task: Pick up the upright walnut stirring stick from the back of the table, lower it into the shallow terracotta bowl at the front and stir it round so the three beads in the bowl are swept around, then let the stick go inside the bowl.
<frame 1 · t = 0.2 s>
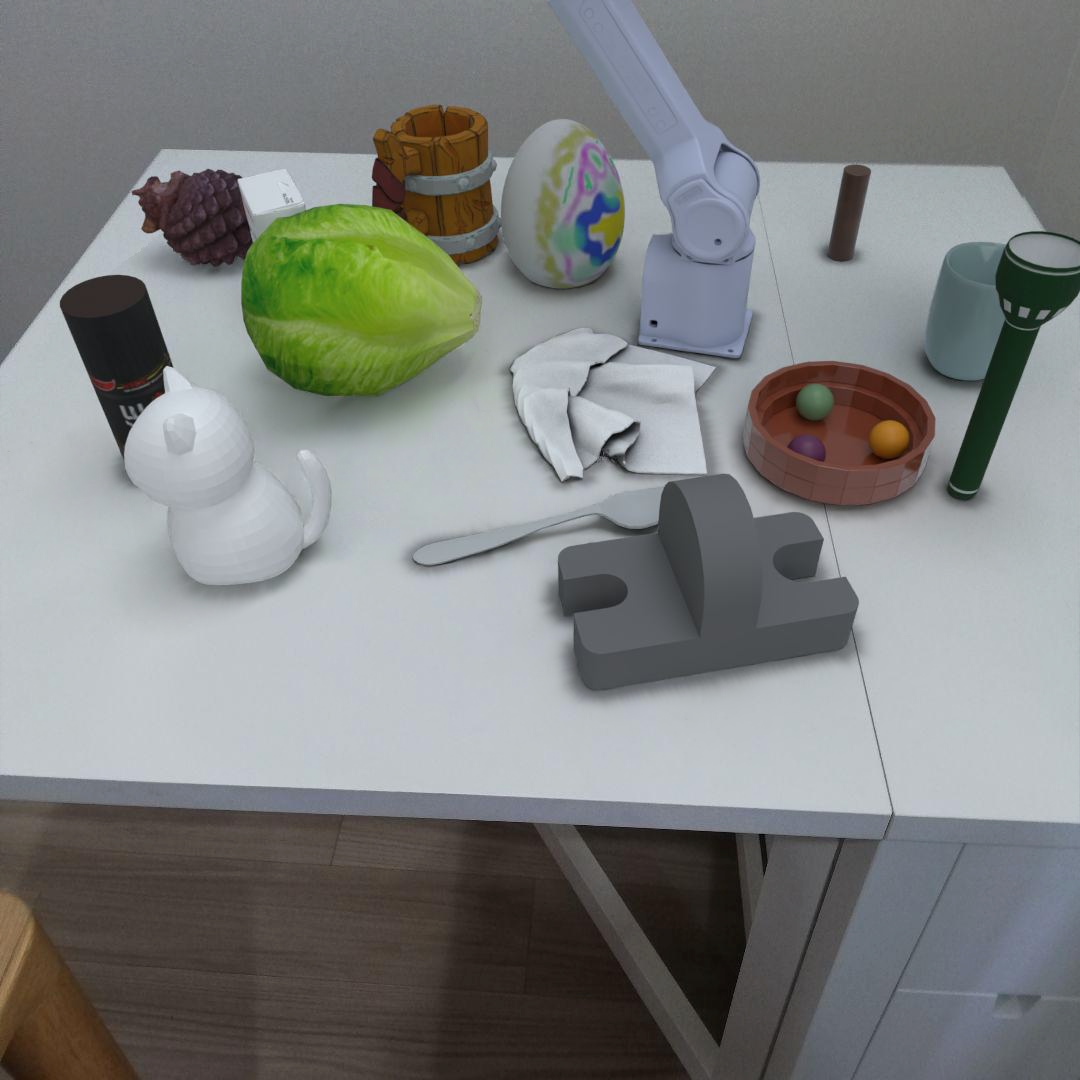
pine cone: (233, 258, 105), on the table
lettuce: (374, 380, 88), on the table
amber bead: (888, 439, 76), point 2 cm above the table, touching bowl
bracket: (699, 616, 66), on the table
cloth: (610, 410, 83), on the table
flashlight: (960, 493, 75), on the table
cup: (960, 369, 86), on the table
mug: (436, 255, 104), on the table
sage bead: (814, 402, 80), point 2 cm above the table, touching bowl
spoon: (551, 535, 73), on the table
decorative egg: (563, 271, 101), on the table
bowl: (831, 452, 78), on the table
plum bead: (805, 454, 75), point 2 cm above the table, touching bowl
stick: (840, 255, 101), on the table
deodorant: (165, 460, 80), on the table
ink box: (295, 304, 97), on the table
cat figurine: (259, 557, 72), on the table
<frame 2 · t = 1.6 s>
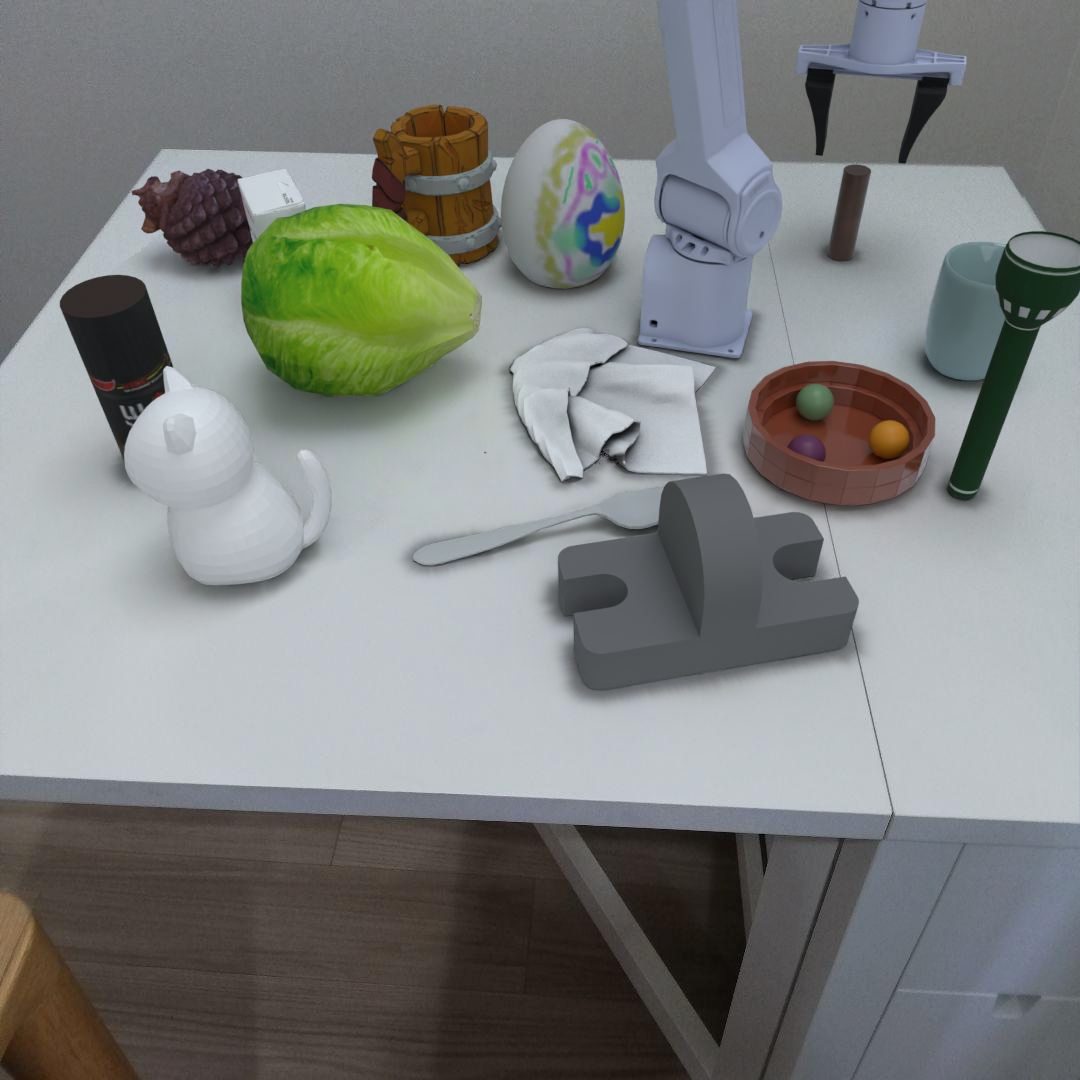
hand: (860, 155, 94), 10 cm above the table, tool pointing down, fingers open, 7 cm apart
nothing on the table moved.
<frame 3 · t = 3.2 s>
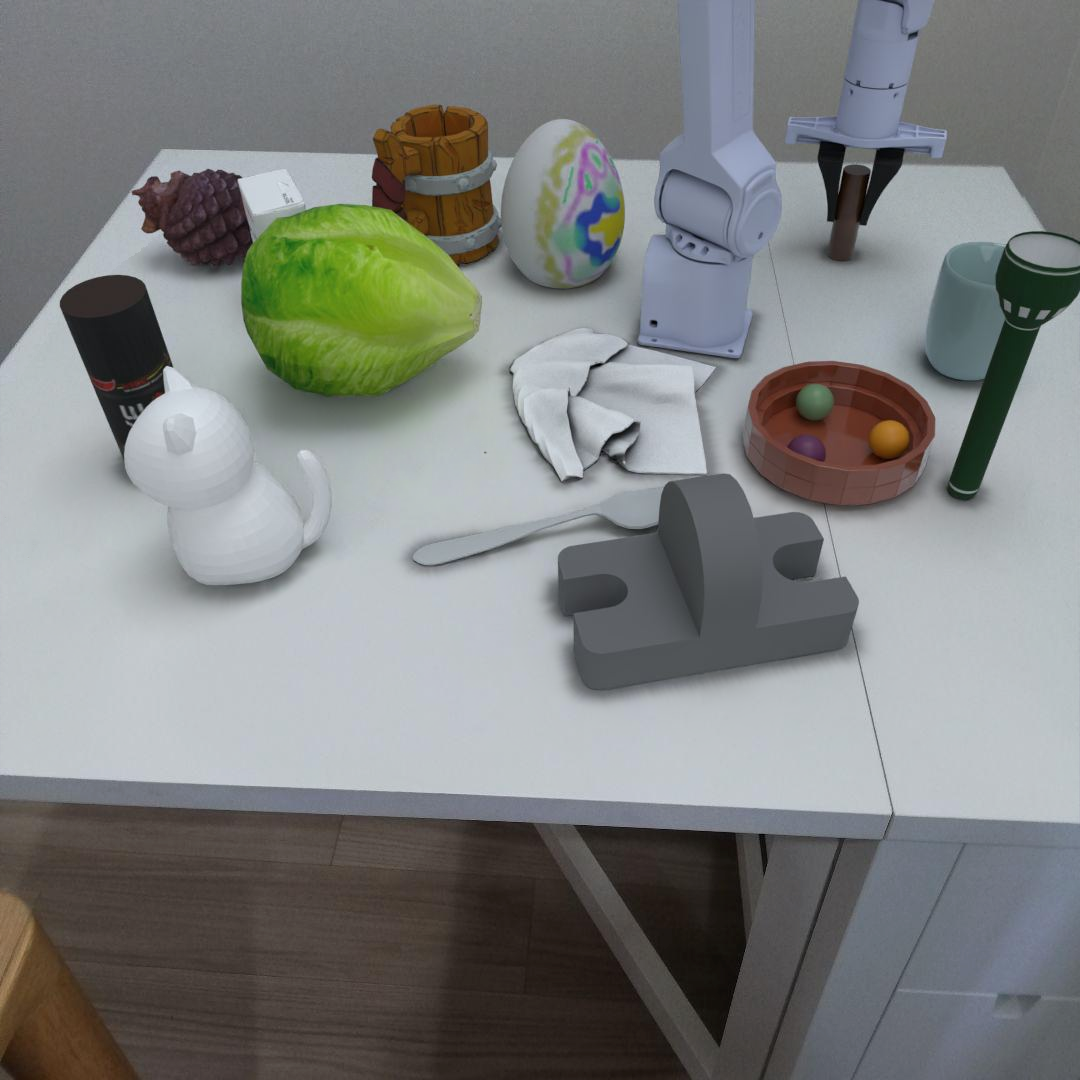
hand: (847, 219, 99), 4 cm above the table, tool pointing down, fingers closed on stick, 2 cm apart
stick: (839, 254, 101), on the table, touching gripper
everything else where it was.
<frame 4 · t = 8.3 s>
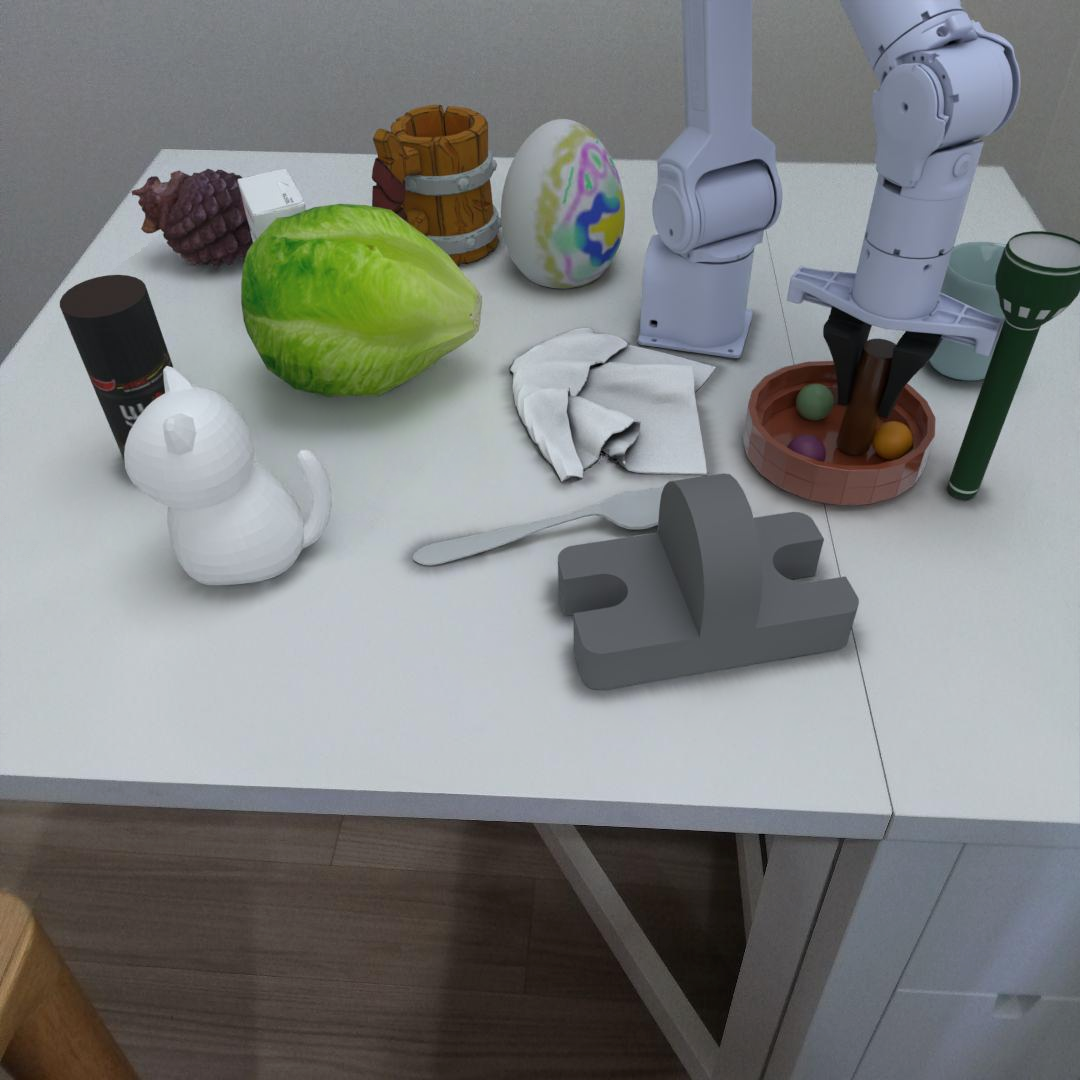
hand: (866, 404, 74), 5 cm above the table, tool pointing down, fingers closed on stick, 2 cm apart
amber bead: (892, 440, 76), point 2 cm above the table, tilted 7°, touching bowl, stick
stick: (853, 444, 77), point 1 cm above the table, touching amber bead, gripper
everything else where it was.
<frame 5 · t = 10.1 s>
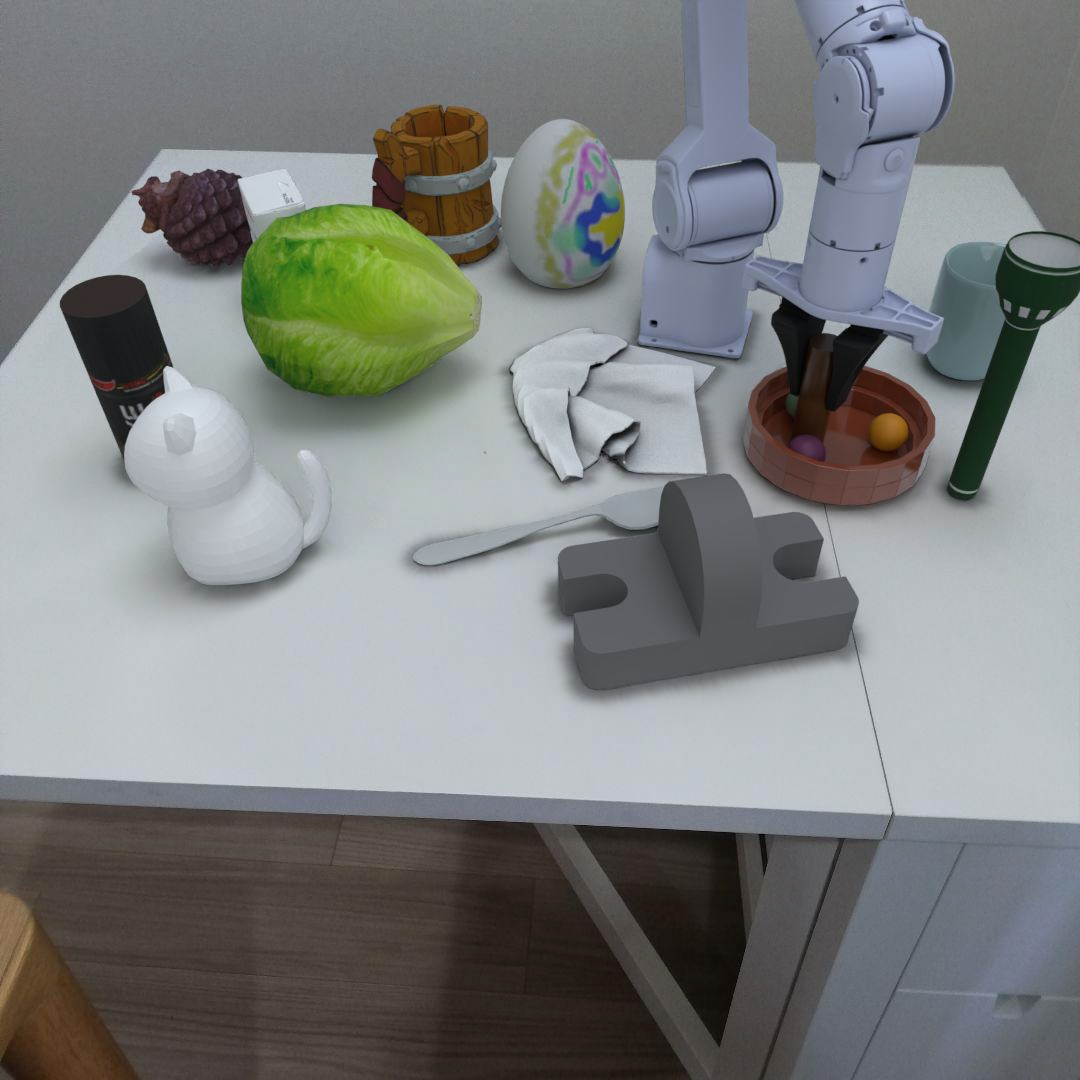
hand: (817, 397, 75), 5 cm above the table, tool pointing down, fingers closed on stick, 2 cm apart
amber bead: (888, 432, 77), point 2 cm above the table, tilted 31°, touching bowl
stick: (807, 439, 78), point 1 cm above the table, touching gripper
everything else where it was.
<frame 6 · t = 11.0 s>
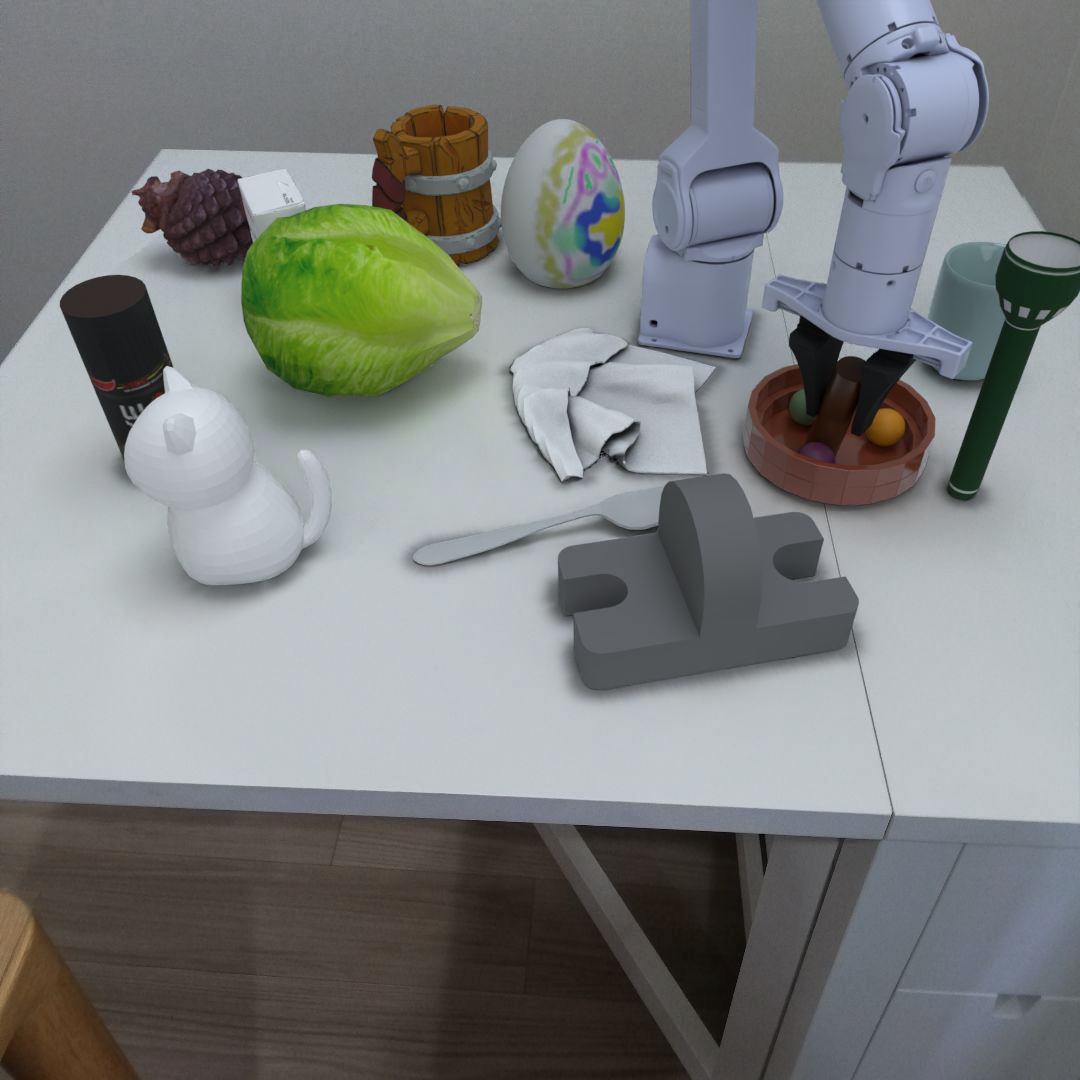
hand: (839, 419, 73), 5 cm above the table, tool pointing down, fingers closed on stick, 3 cm apart
amber bead: (885, 427, 77), point 2 cm above the table, tilted 55°, touching bowl
sage bead: (807, 406, 79), point 2 cm above the table, tilted 14°, touching bowl
plum bead: (815, 461, 74), point 2 cm above the table, tilted 11°, touching bowl, stick
stick: (820, 448, 77), point 1 cm above the table, tilted 13°, touching gripper, plum bead
everything else where it was.
when the fingers open (5 cm above the table, at t = 12.1 s): stick stays where it is, resting on bowl.
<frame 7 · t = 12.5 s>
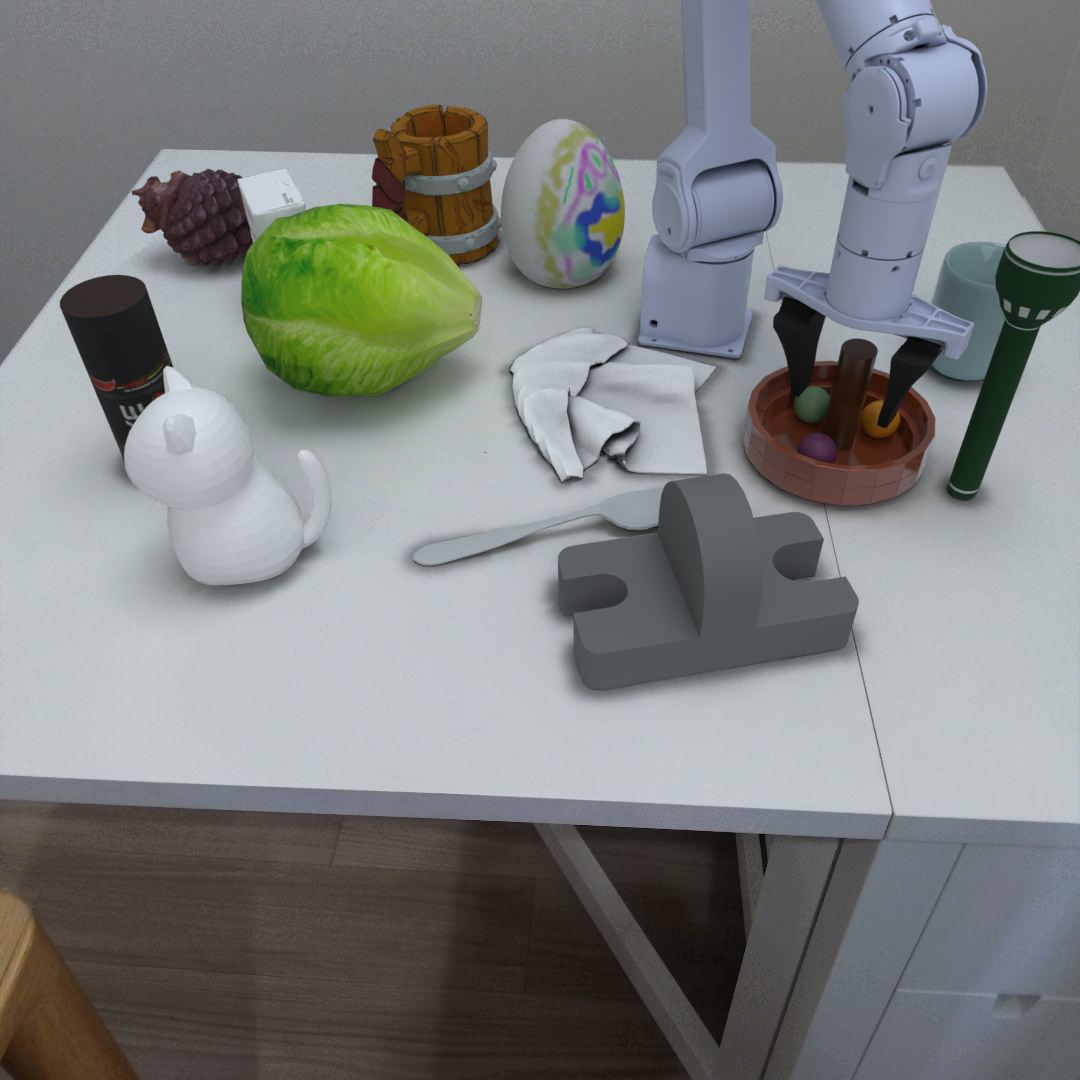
hand: (842, 404, 75), 5 cm above the table, tool pointing down, fingers open, 6 cm apart
amber bead: (880, 419, 78), point 2 cm above the table, tilted 95°, touching bowl
sage bead: (812, 404, 79), point 2 cm above the table, tilted 21°, touching bowl
plum bead: (817, 452, 75), point 2 cm above the table, tilted 28°, touching bowl
stick: (836, 439, 78), point 1 cm above the table, touching bowl
everything else where it was.
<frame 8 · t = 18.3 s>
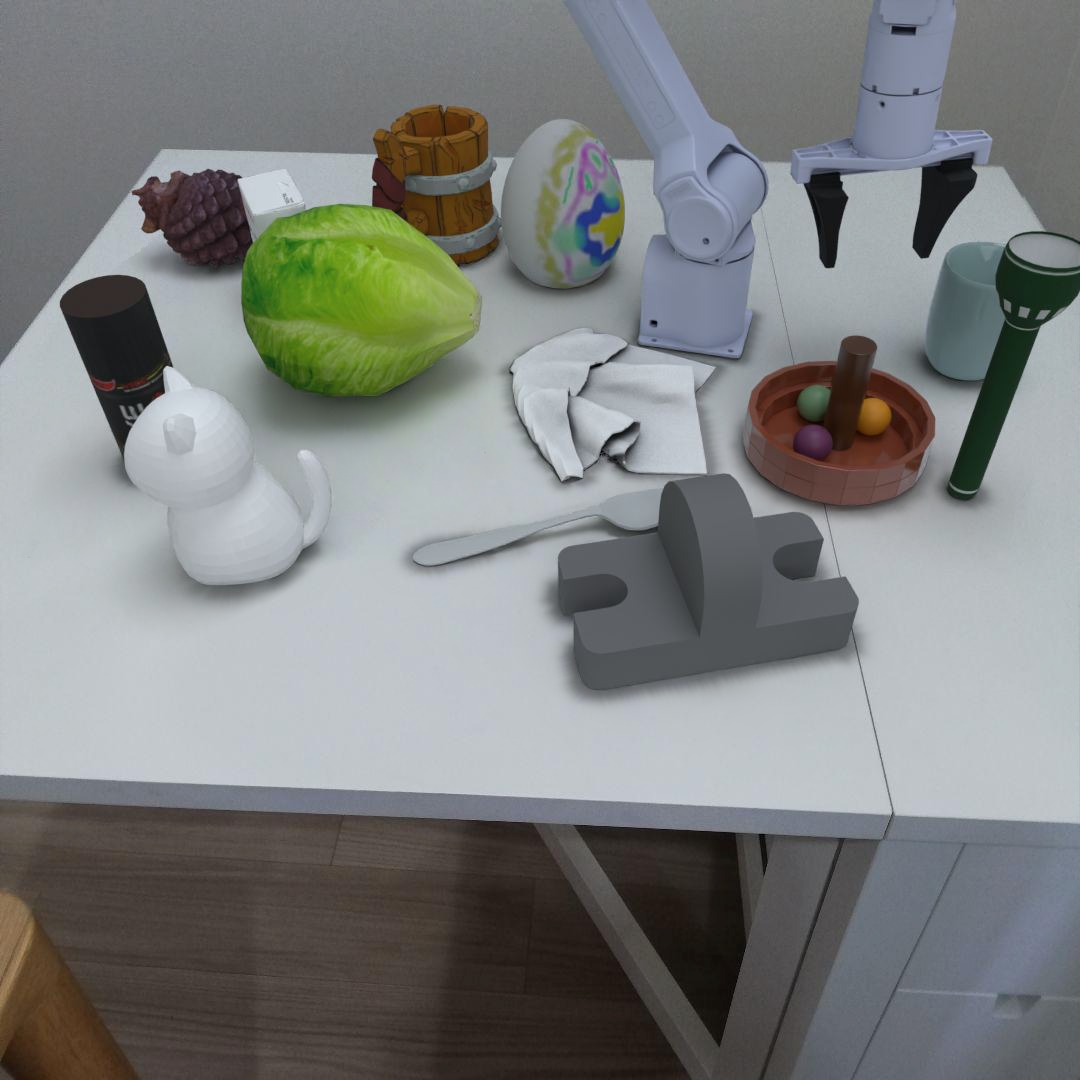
hand: (873, 257, 80), 10 cm above the table, tool pointing down, fingers open, 7 cm apart
amber bead: (871, 416, 78), point 2 cm above the table, tilted 107°, touching bowl
sage bead: (815, 403, 80), point 2 cm above the table, tilted 33°, touching bowl
plum bead: (812, 444, 76), point 2 cm above the table, tilted 64°, touching bowl
everything else where it was.
at the end: stick inside the target area in the bowl (0.8 cm from its centre), point 0.6 cm above the bowl's base; amber bead moved 3.0 cm from its start; amber bead inside the target area in the bowl (3.6 cm from its centre), point 2.1 cm above the bowl's base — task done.
